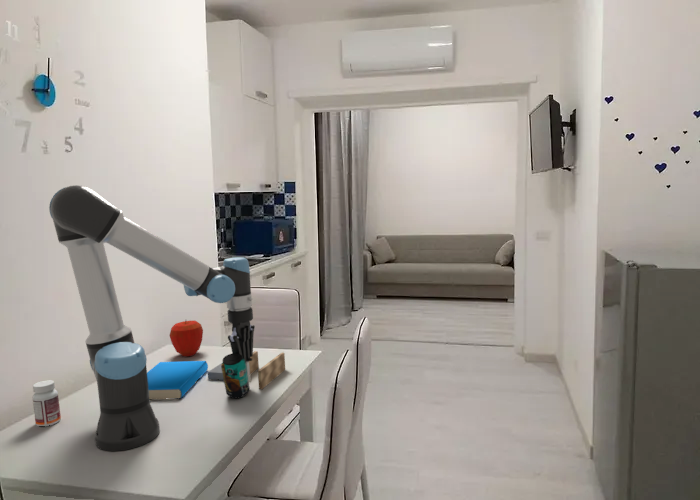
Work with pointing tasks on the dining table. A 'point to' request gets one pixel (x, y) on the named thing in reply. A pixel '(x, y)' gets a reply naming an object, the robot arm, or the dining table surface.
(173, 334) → the apple
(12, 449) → the dining table surface
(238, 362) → the beverage can
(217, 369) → the stand
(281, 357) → the slot rack
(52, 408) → the pill bottle
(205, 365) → the book
